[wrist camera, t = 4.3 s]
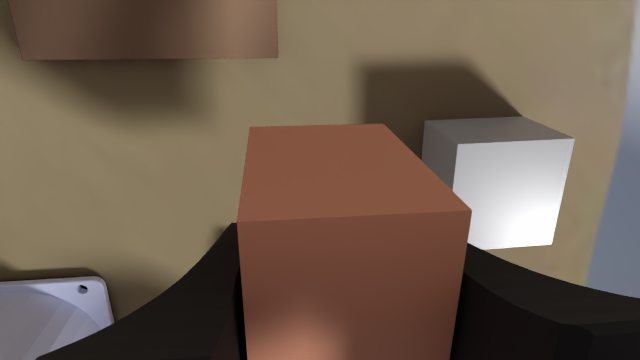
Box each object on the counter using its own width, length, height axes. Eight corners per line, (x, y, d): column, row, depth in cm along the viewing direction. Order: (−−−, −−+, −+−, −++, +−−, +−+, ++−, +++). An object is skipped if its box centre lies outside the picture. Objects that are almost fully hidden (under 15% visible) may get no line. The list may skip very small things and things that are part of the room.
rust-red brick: (260, 305, 15) (257, 482, 9) (249, 127, 12) (236, 221, 7) (372, 297, 15) (433, 462, 10) (383, 123, 13) (472, 210, 7)
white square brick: (416, 212, 22) (445, 252, 19) (423, 119, 21) (457, 144, 17) (505, 206, 23) (551, 244, 19) (521, 115, 21) (575, 138, 17)
